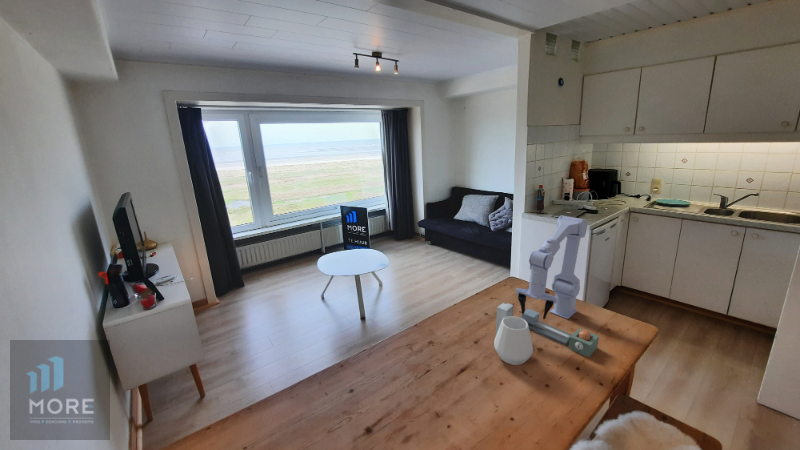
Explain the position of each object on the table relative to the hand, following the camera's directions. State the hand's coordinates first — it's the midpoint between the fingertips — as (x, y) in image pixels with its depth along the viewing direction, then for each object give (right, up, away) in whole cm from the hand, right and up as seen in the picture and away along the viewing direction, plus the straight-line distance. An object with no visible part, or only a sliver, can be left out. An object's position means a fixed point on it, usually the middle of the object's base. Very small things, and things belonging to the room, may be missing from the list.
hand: (533, 315), depth 125 cm
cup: (-11, -13, -7) cm, 18 cm away
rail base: (+7, -8, +7) cm, 13 cm away
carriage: (+3, -5, +11) cm, 12 cm away
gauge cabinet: (+17, -11, -4) cm, 20 cm away
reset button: (+16, -9, -5) cm, 19 cm away
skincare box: (-9, -9, +6) cm, 15 cm away
